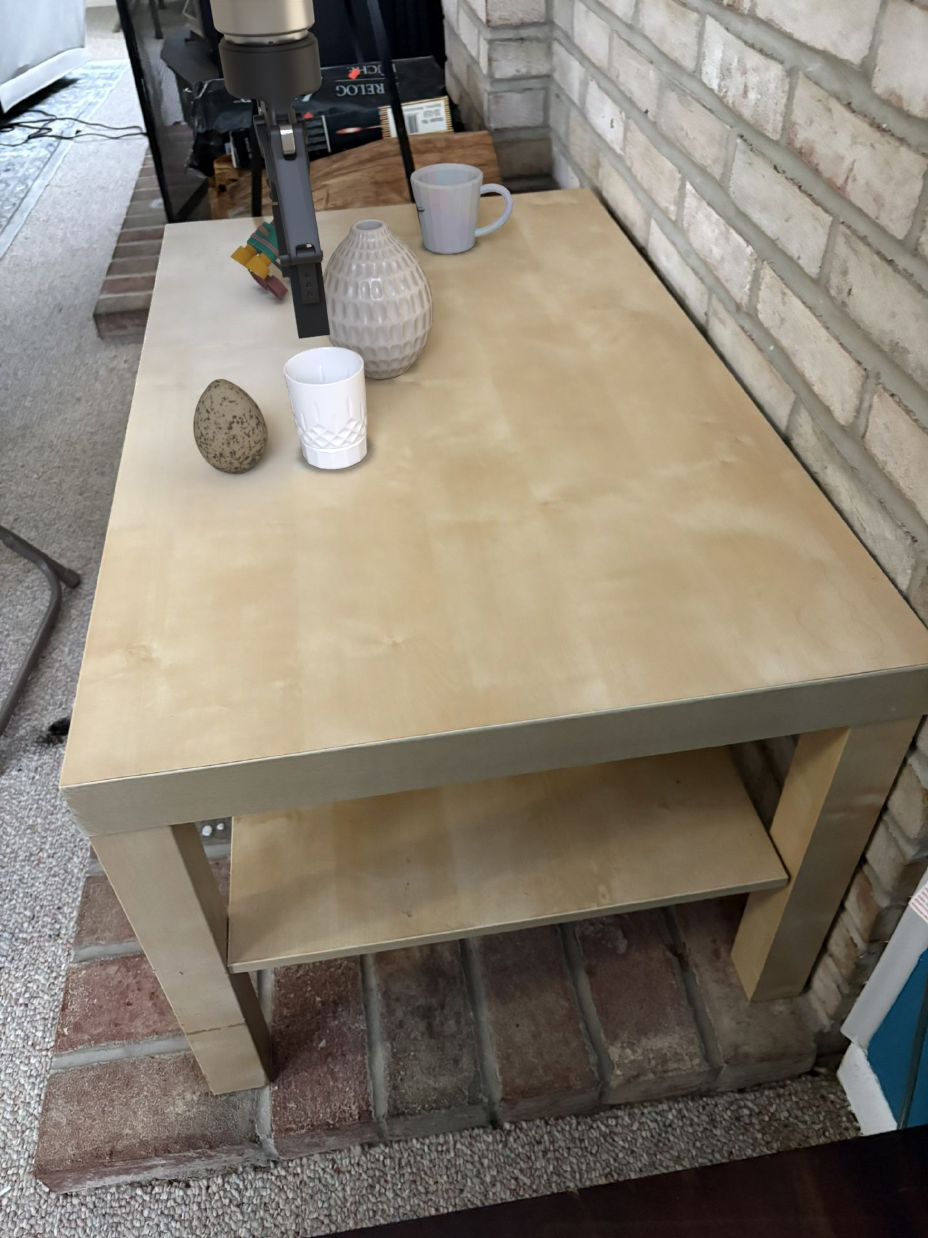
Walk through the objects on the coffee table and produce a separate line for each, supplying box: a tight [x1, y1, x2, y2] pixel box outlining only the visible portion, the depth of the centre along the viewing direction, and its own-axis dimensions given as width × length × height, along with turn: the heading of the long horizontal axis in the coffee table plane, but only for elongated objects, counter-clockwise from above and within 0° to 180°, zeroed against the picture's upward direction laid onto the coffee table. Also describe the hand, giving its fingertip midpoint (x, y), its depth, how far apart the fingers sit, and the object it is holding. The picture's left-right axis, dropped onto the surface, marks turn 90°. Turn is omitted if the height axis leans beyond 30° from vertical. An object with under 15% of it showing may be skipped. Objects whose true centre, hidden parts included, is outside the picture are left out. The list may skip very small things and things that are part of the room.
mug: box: [409, 162, 515, 255], centre depth 134 cm, size 10×15×10 cm
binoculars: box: [229, 219, 290, 301], centre depth 124 cm, size 9×9×10 cm
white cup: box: [282, 346, 368, 470], centre depth 93 cm, size 8×8×10 cm
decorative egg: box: [192, 378, 268, 475], centre depth 92 cm, size 7×7×10 cm
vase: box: [323, 218, 434, 380], centre depth 105 cm, size 13×13×17 cm
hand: (304, 303), depth 84 cm, fingers open, 13 cm apart
